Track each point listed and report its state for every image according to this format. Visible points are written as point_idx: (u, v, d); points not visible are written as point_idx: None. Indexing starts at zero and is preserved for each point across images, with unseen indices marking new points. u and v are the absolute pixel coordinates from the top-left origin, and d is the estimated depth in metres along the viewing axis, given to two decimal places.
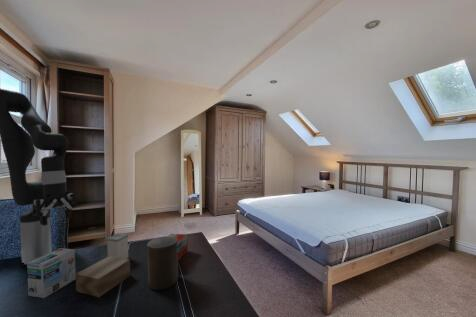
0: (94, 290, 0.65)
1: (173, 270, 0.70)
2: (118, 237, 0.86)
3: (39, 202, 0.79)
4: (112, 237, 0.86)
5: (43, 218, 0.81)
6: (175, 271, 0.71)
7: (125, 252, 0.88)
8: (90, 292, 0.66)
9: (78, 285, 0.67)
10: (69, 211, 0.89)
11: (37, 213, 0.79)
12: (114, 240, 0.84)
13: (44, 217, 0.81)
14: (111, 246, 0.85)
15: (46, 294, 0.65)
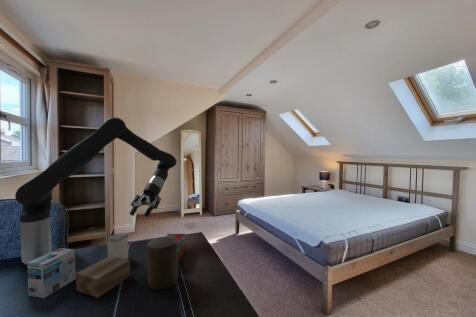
0: (93, 290, 0.65)
1: (173, 270, 0.70)
2: (118, 237, 0.86)
3: None
4: (112, 237, 0.86)
5: None
6: (175, 271, 0.71)
7: (125, 252, 0.88)
8: (89, 292, 0.66)
9: (78, 284, 0.68)
10: None
11: None
12: (114, 240, 0.84)
13: (150, 210, 0.99)
14: (111, 246, 0.85)
15: (46, 294, 0.65)
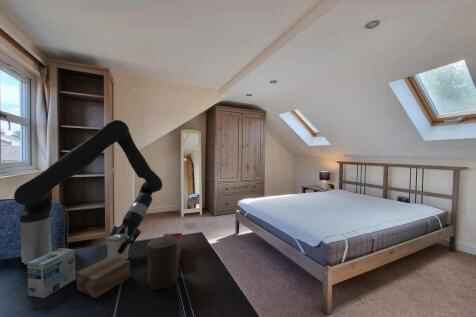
0: (91, 290, 0.65)
1: (173, 270, 0.70)
2: (118, 237, 0.86)
3: None
4: (112, 237, 0.86)
5: None
6: (175, 271, 0.71)
7: (125, 252, 0.88)
8: (88, 292, 0.66)
9: (78, 284, 0.68)
10: None
11: None
12: (114, 240, 0.84)
13: None
14: (111, 246, 0.85)
15: (46, 294, 0.65)
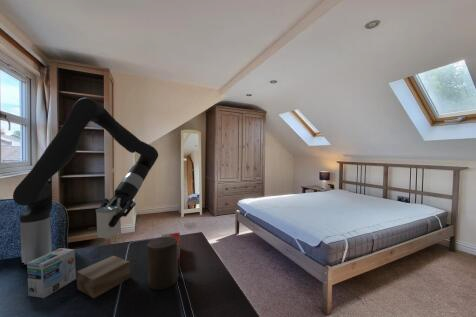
0: (90, 291, 0.65)
1: (173, 270, 0.70)
2: (109, 208, 0.75)
3: None
4: (102, 208, 0.75)
5: None
6: (175, 271, 0.71)
7: (117, 226, 0.77)
8: (87, 292, 0.66)
9: (78, 283, 0.68)
10: None
11: None
12: (104, 211, 0.73)
13: None
14: (101, 218, 0.74)
15: (46, 294, 0.65)
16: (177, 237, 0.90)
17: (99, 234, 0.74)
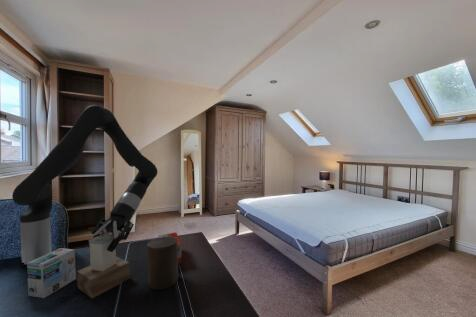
0: (89, 291, 0.65)
1: (173, 270, 0.70)
2: (103, 238, 0.70)
3: None
4: (96, 239, 0.70)
5: None
6: (175, 271, 0.71)
7: (112, 257, 0.72)
8: (86, 291, 0.66)
9: (79, 282, 0.69)
10: None
11: None
12: (98, 242, 0.69)
13: None
14: (95, 249, 0.69)
15: (46, 294, 0.65)
16: (176, 236, 0.91)
17: (92, 266, 0.70)
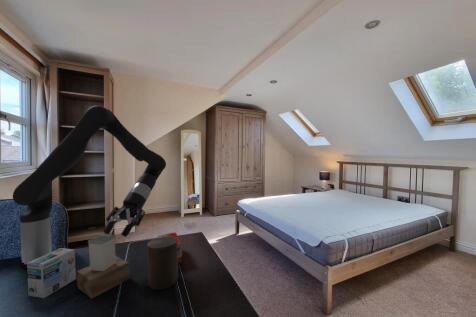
0: (88, 291, 0.65)
1: (173, 270, 0.70)
2: (103, 238, 0.70)
3: None
4: (95, 239, 0.70)
5: None
6: (175, 271, 0.71)
7: (112, 256, 0.72)
8: (86, 292, 0.66)
9: (78, 282, 0.69)
10: None
11: None
12: (98, 242, 0.68)
13: None
14: (95, 249, 0.69)
15: (46, 294, 0.65)
16: (176, 236, 0.91)
17: (92, 267, 0.69)
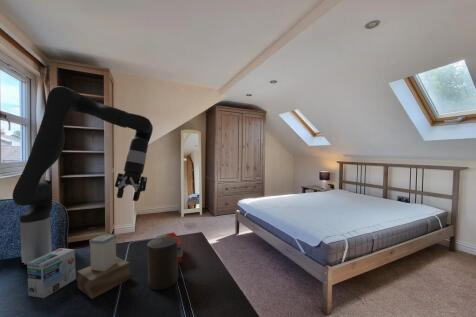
0: (89, 291, 0.65)
1: (173, 270, 0.70)
2: (104, 238, 0.70)
3: None
4: (96, 239, 0.70)
5: None
6: (175, 271, 0.71)
7: (113, 256, 0.72)
8: (86, 292, 0.66)
9: (79, 283, 0.69)
10: None
11: None
12: (99, 242, 0.69)
13: None
14: (96, 249, 0.69)
15: (46, 294, 0.65)
16: (175, 236, 0.91)
17: (93, 266, 0.70)
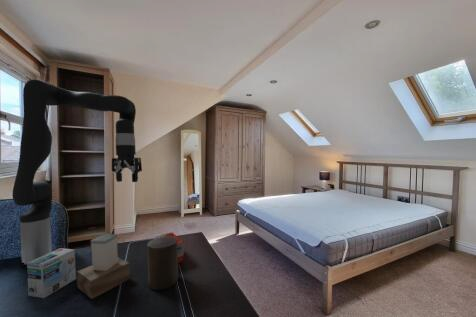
0: (88, 291, 0.65)
1: (173, 270, 0.70)
2: (106, 238, 0.71)
3: None
4: (98, 239, 0.70)
5: None
6: (175, 271, 0.71)
7: (114, 256, 0.73)
8: (86, 292, 0.66)
9: (79, 283, 0.69)
10: None
11: None
12: (101, 242, 0.69)
13: None
14: (98, 249, 0.69)
15: (46, 294, 0.65)
16: (174, 236, 0.91)
17: (95, 266, 0.70)
